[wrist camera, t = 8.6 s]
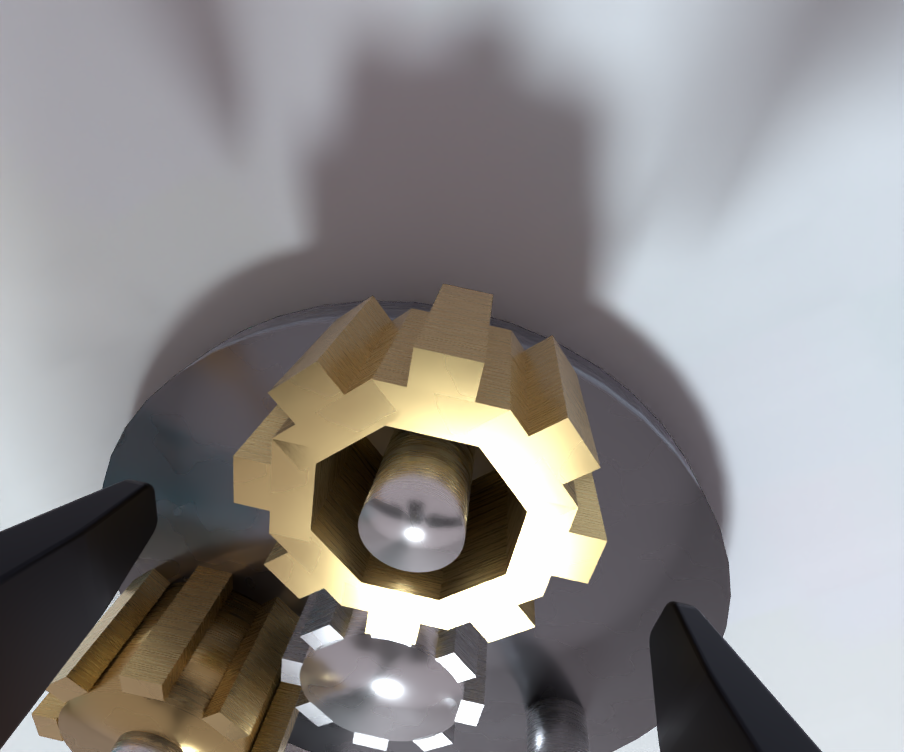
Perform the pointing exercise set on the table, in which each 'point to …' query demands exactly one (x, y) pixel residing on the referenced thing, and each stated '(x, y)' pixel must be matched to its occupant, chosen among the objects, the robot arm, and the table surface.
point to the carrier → (343, 628)
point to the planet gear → (440, 415)
